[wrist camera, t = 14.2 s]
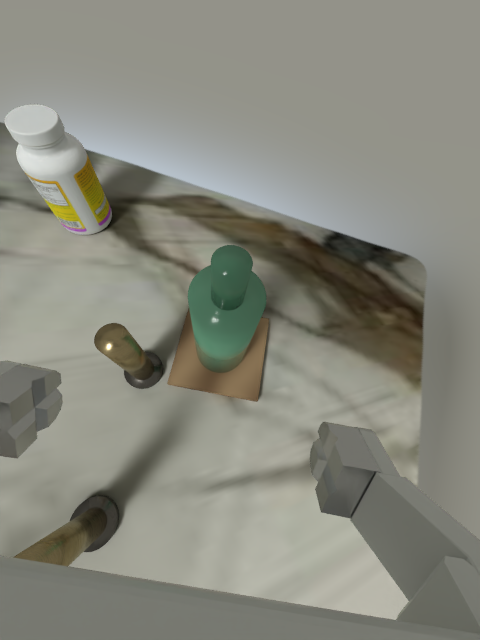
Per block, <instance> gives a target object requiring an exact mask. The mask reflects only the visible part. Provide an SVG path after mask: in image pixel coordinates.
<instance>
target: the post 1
mask: <svg viewBox="0 0 480 640" xmlns="http://www.w3.org/2000/svg"><path fill="white" fill-rule="evenodd" d="M118 521H119V512H118V508H117V505H116V504H115V502H114V501H113V500H112V499H111V498H109V497H107V496H103V495H98V496H94V497H91V498H89V499H87V500H86V501H84V502H83V503H81V504H80V505H79V506H78V507H77V509H76V510H75V511H74V513H73V515H72V517H71V519H70V522H68V523H67V524H65V525H63V526H62V527H60V528H59V529H57V530H56V531H54V532H52V533H51V534H49V535H48V536H46V537H44V538H43V539H41V540H40V541H38V542H37V543H35V544H33V545H32V546H30V547H29V548H27V549H26V550H24V551H22V552H21V553H19V554H18V555H16V556H15V557H13V558H19V559H25V560H31V561H38V562H44V563H50V564H56V565H62V566H69V565H70V564H71V563H72V562H73V561H74V560H75V559H76V558H77V557H78V556H79V555H80V554H81V553H83V552H92V551H95V550H97V549H99V548H101V547H102V546H104V545H105V544H106V543H107V542H108V541H109V540H110V538H111V537H112V536H113V534H114V533H115V531H116V528H117V525H118Z"/></svg>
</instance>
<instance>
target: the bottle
mask: <svg viewBox="0 0 480 640" xmlns="http://www.w3.org/2000/svg"><path fill="white" fill-rule="evenodd" d="M252 266H253V261H252V258H251V256H250V254H249V253H248V252H247V251H246V250H245V249H243V248H241V247H239V246H234V245H227V246H223V247H220V248H219V249H217V250H216V251H215V252H214V253H213V255H212V258H211V265H210V266H208V267H206V268H204V269H203V270H201V271H200V272H199V273H198V274H197V275H196V276H195V277H194V278H193V280H192V282H191V284H190V286H189V290H188V303H189V309H190V315H191V321H192V327H193V333H194V339H195V346H196V352H197V356H198V359H199V361H200V363H201V364H202V365H203V366H204V367H205V368H207V369H208V370H210V371H212V372H216V373H225V372H229V371H231V370H233V369H235V368H236V367H237V366H238V365H239V364H240V363H241V361H242V360H243V357H244V355H245V353H246V351H247V348H248V346H249V344H250V341H251V339H252V337H253V335H254V332H255V330H256V328H257V325H258V323H259V321H260V319H261V316H262V314H263V312H264V309H265V306H266V291H265V288H264V285H263V284H262V282H261V280H260V279H259V277H258V276H257V275H256V274H255V273H253V272H252V271H251V270H252Z"/></svg>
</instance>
